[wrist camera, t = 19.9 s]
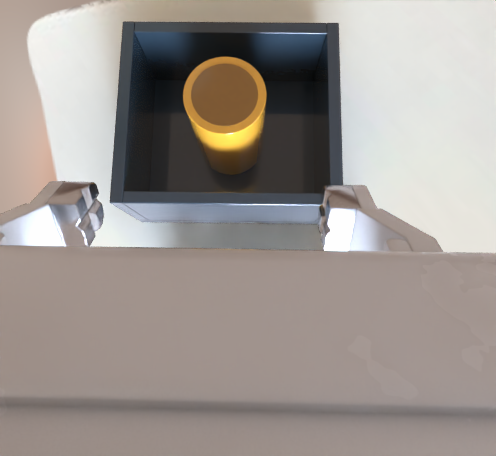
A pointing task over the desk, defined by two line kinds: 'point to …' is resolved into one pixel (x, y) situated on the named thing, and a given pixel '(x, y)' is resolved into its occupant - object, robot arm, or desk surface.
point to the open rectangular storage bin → (183, 138)
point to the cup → (227, 113)
